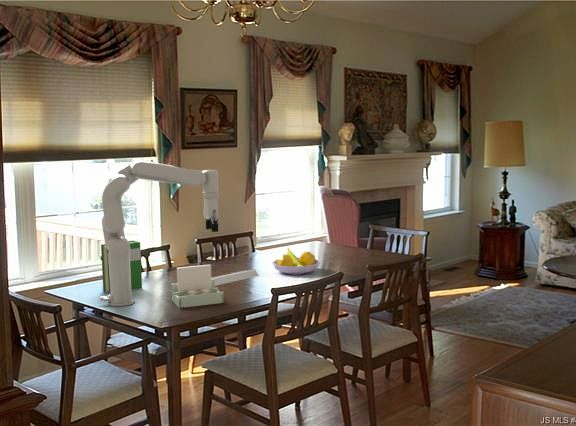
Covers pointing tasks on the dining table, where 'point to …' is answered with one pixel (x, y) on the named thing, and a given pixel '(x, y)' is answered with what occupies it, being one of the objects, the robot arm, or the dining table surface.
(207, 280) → the sheet
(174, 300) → the tray
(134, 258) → the hardback book
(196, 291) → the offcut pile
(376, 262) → the dining table surface
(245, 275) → the crown molding
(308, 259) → the fruit bowl
